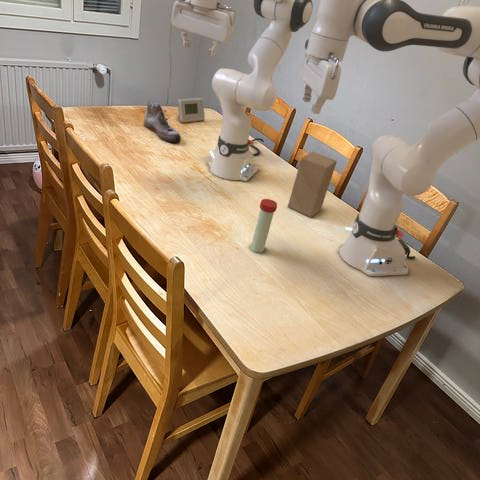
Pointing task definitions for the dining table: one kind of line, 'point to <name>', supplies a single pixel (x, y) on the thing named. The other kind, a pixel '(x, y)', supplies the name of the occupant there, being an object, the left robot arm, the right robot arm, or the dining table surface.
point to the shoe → (160, 123)
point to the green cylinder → (261, 231)
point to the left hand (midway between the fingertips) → (198, 51)
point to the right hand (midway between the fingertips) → (310, 106)
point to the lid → (268, 205)
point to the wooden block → (311, 183)
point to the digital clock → (191, 110)
